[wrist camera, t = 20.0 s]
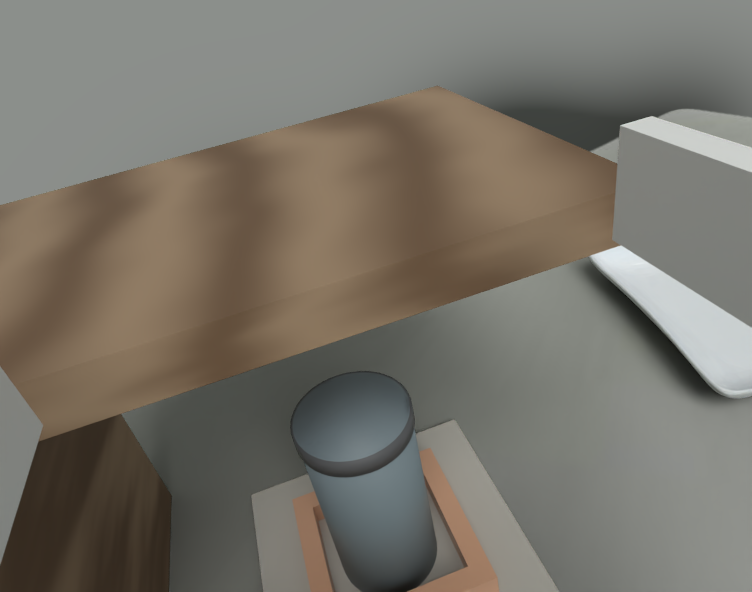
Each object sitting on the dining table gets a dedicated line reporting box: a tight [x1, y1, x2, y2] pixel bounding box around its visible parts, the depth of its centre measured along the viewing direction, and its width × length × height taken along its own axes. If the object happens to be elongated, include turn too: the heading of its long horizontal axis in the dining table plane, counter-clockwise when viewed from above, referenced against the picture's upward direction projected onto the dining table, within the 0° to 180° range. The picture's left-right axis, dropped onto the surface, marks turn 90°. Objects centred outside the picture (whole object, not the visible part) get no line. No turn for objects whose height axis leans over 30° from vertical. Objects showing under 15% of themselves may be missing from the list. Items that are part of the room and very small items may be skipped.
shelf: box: [0, 86, 620, 592], centre depth 29 cm, size 27×18×24 cm, turn 107°
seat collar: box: [251, 419, 559, 592], centre depth 34 cm, size 16×16×2 cm
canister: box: [290, 371, 437, 592], centre depth 31 cm, size 6×6×12 cm
